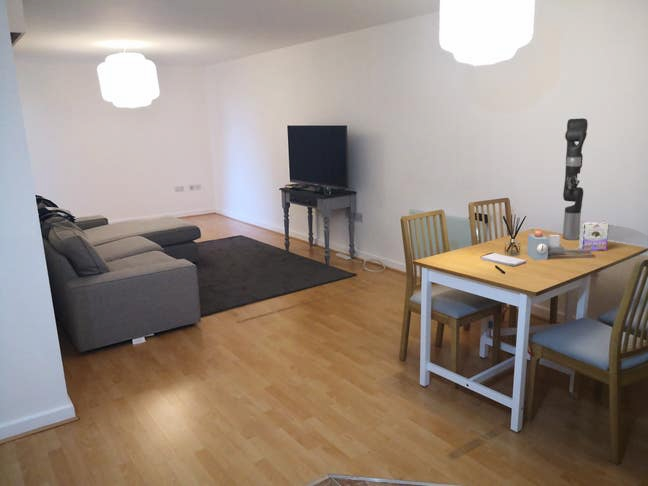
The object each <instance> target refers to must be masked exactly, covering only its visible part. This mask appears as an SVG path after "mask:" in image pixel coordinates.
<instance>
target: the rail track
mask: <svg viewBox="0 0 648 486" xmlns="http://www.w3.org/2000/svg"><path fill="white" fill-rule="evenodd" d="M589 258H590V259H593V258H596V254H594V253H592V251H591V250H590V249H579V248H575V249H573V248H572V249H564V252H549V251H548V259H547V260H556V259H557V260H558V259H562V260H563V259H564V260H565V259H589Z"/></svg>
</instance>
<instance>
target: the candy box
mask: <svg viewBox="0 0 648 486" xmlns="http://www.w3.org/2000/svg"><path fill="white" fill-rule="evenodd" d="M609 226H610V224H609V222H607V221H605V220H604V221H580V228H579V239H578V249H590V250H591V252H592V251H593V252H595V251H599V252H600V251H608V250H607V249H608V238H609V228H610V227H609Z"/></svg>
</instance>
